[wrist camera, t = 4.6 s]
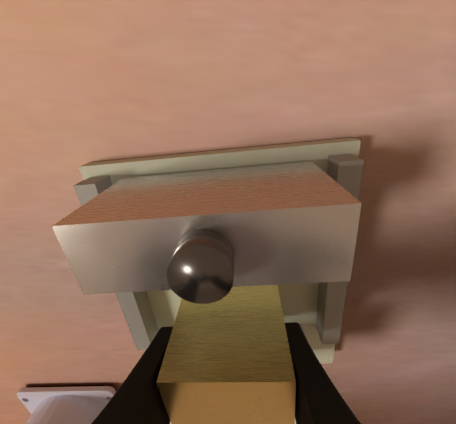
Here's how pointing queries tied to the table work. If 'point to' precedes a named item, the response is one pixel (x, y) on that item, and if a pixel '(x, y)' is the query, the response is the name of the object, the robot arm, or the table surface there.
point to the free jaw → (213, 232)
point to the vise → (289, 293)
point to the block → (230, 361)
